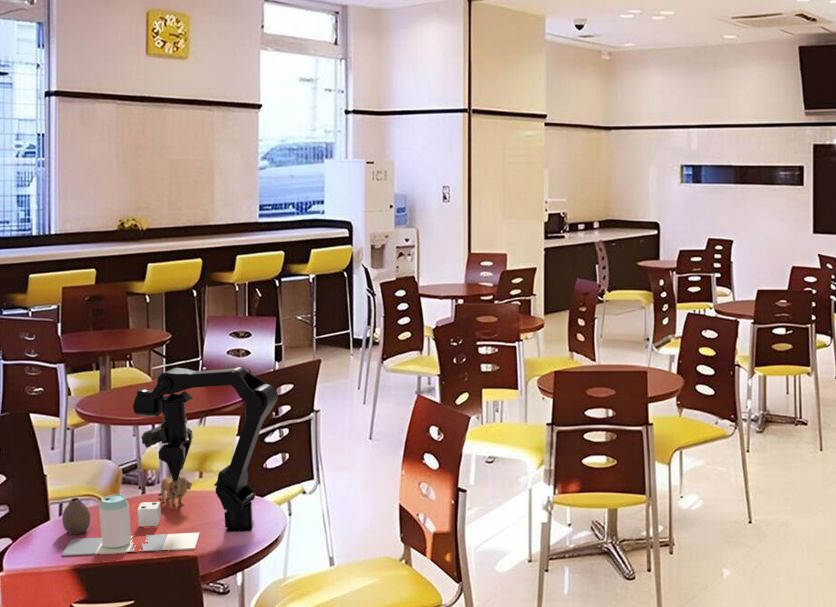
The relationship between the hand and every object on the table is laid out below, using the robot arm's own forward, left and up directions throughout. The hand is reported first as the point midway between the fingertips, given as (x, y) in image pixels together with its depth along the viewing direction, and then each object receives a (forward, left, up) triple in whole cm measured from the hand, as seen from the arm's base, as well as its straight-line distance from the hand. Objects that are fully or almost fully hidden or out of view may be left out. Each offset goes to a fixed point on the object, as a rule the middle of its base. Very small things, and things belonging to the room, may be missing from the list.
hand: (177, 474), depth 271 cm
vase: (+26, +3, -13) cm, 29 cm away
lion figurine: (+4, -14, -13) cm, 20 cm away
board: (+10, +14, -13) cm, 22 cm away
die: (+8, 0, -13) cm, 15 cm away
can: (+14, +14, -13) cm, 23 cm away
